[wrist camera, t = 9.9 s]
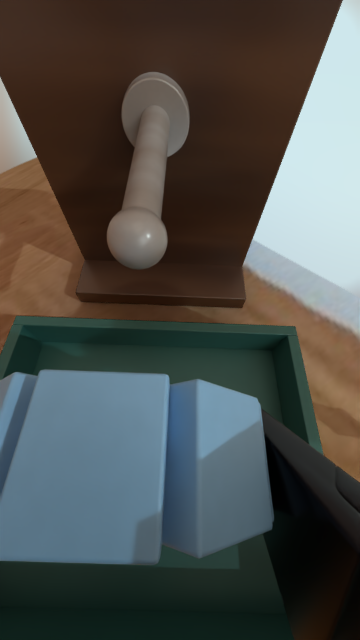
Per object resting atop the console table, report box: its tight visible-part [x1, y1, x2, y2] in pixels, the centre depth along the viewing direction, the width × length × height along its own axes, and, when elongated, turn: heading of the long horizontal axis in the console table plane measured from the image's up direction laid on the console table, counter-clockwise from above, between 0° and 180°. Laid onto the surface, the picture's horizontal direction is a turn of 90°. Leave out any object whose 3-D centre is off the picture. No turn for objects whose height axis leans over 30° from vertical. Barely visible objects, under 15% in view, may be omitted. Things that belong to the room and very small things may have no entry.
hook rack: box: [0, 0, 343, 308], centre depth 12 cm, size 11×12×15 cm
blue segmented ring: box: [0, 369, 274, 565], centre depth 7 cm, size 2×7×7 cm, turn 88°
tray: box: [0, 316, 323, 640], centre depth 12 cm, size 13×16×3 cm
